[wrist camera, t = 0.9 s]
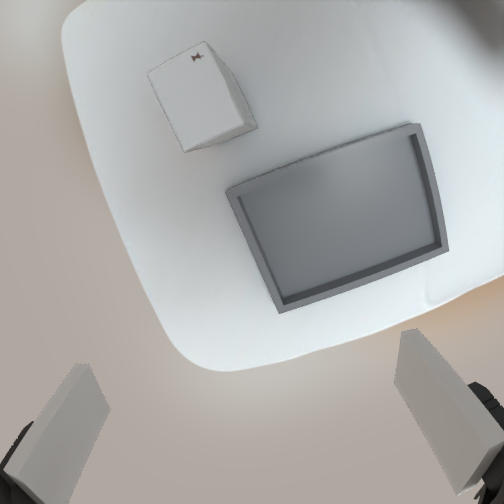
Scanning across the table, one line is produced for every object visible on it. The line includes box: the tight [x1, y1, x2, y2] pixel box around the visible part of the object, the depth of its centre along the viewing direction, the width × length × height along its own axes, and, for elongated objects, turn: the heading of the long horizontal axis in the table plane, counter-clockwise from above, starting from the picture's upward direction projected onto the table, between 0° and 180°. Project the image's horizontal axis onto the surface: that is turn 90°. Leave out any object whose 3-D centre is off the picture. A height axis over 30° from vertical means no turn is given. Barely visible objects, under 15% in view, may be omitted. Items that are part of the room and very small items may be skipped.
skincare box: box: [147, 41, 258, 152], centre depth 22 cm, size 6×4×12 cm
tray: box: [225, 123, 449, 314], centre depth 29 cm, size 20×14×2 cm
